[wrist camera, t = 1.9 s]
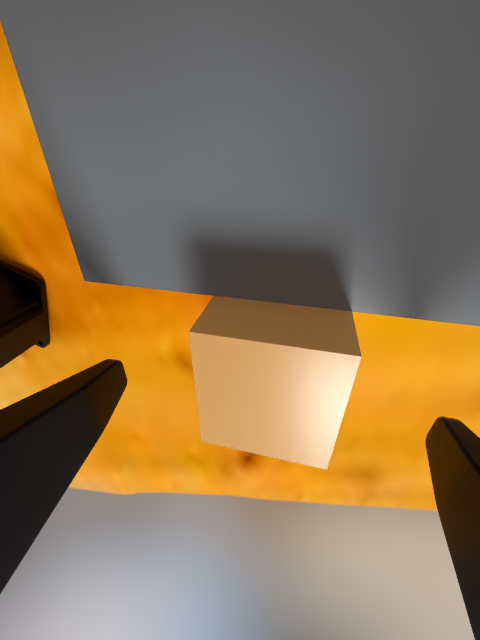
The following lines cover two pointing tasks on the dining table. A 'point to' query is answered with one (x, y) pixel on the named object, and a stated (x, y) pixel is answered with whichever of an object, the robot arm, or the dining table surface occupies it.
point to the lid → (266, 180)
